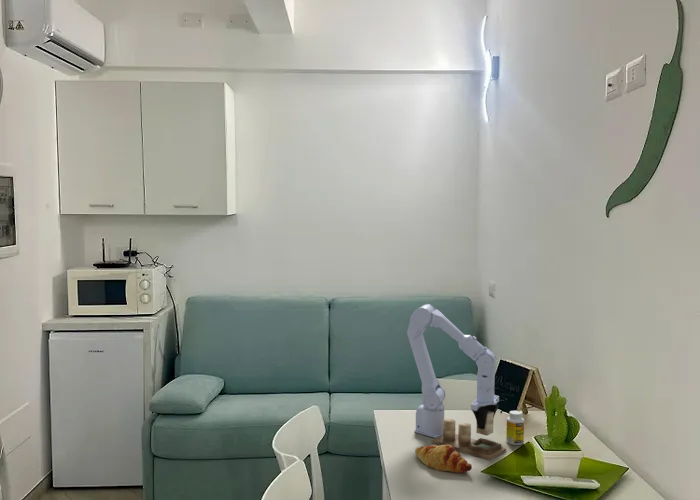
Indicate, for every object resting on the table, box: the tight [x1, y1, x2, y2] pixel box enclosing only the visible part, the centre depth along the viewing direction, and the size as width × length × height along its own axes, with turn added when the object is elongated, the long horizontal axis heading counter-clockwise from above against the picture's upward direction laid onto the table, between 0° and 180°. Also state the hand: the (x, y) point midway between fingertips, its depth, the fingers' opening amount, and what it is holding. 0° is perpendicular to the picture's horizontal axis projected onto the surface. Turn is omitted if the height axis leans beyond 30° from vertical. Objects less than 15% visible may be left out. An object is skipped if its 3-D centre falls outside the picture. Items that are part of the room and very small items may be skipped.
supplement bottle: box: [505, 410, 525, 446], centre depth 215 cm, size 6×6×10 cm
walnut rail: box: [431, 418, 507, 461], centre depth 211 cm, size 22×10×7 cm, turn 47°
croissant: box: [414, 444, 473, 474], centre depth 196 cm, size 21×10×8 cm, turn 44°
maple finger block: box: [475, 411, 495, 436], centre depth 218 cm, size 4×4×7 cm
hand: (484, 426), depth 218 cm, fingers closed on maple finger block, 4 cm apart
